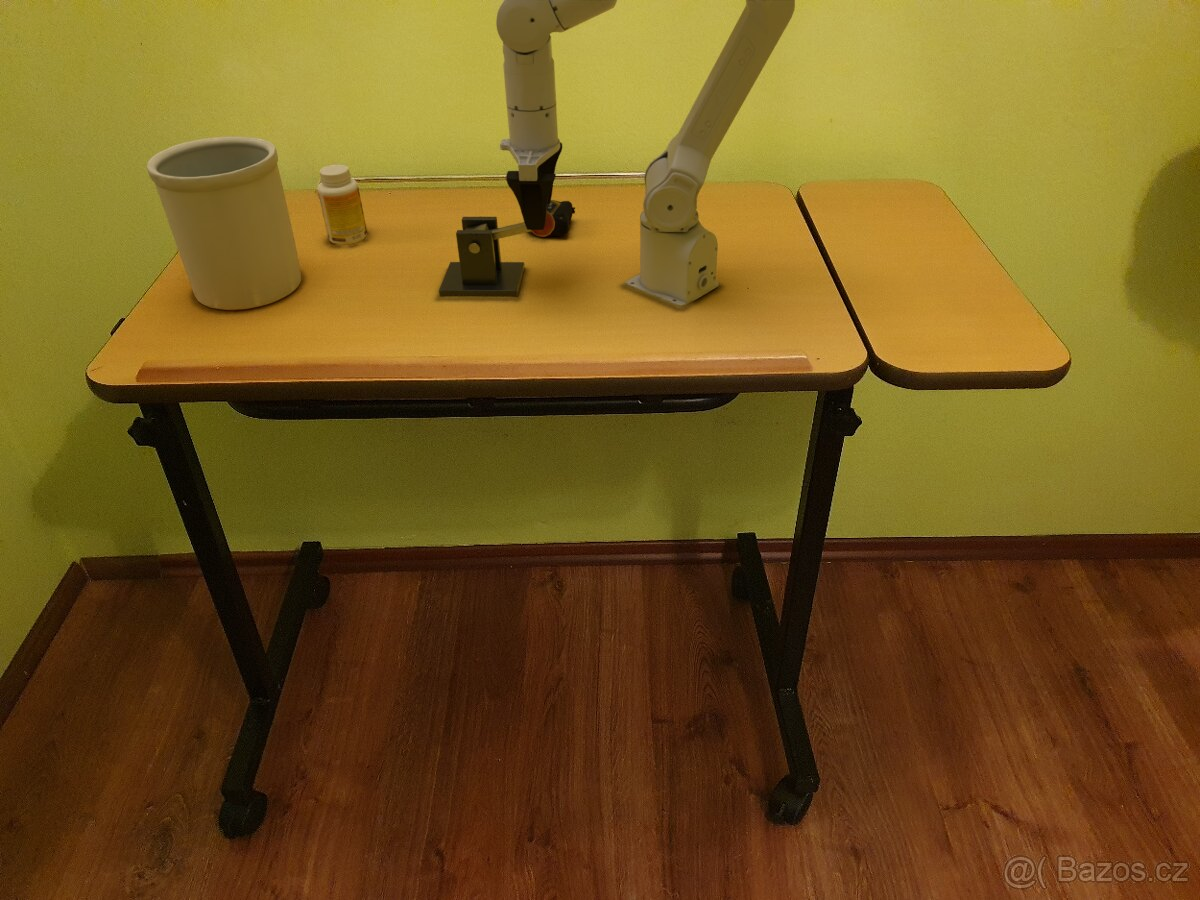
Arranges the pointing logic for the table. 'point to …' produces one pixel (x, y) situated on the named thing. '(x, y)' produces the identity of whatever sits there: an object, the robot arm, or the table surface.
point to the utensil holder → (229, 220)
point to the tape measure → (560, 216)
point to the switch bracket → (481, 264)
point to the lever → (518, 229)
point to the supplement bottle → (341, 205)
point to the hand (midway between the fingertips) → (539, 215)
